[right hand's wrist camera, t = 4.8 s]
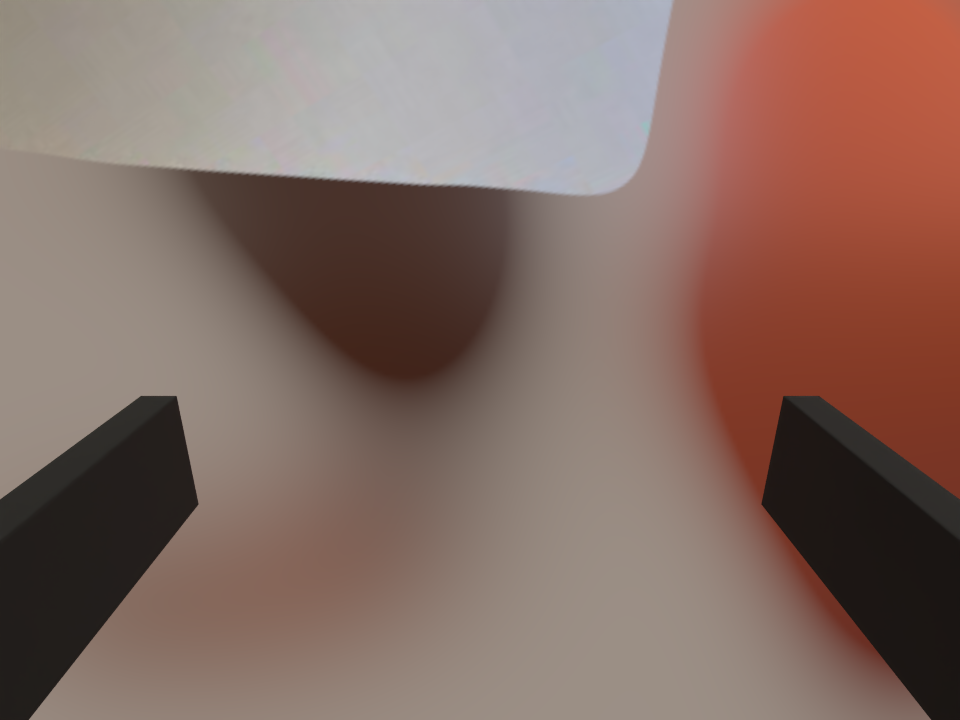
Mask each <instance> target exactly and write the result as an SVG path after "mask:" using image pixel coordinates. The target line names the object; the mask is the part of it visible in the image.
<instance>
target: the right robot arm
mask: <svg viewBox="0 0 960 720" xmlns="http://www.w3.org/2000/svg"><path fill="white" fill-rule="evenodd" d="M197 505H198V499H197V494H196V490H195V485H194V480H193V475H192V470H191V465H190V460H189V455H188V450H187V445H186V440H185V436H184V430H183V426H182V421H181V416H180V411H179V406H178V401H177V397H176V396H141V397H139V398H138V399H136V400H135V401H134V402H132V403H131V404H130V405H128V406H127V407H126V408H124V409H123V410H121V411H120V412H119V413H117V414H116V415H115V416H113V417H112V418H111V419H109V420H108V421H107V422H105V423H104V424H102V425H101V426H100V427H98V428H97V429H96V430H94V431H93V432H92V433H90V434H89V435H87V436H86V437H85V438H83V439H82V440H81V441H79V442H78V443H77V444H75V445H74V446H72V447H71V448H70V449H68V450H67V451H66V452H64V453H63V454H62V455H60V456H59V457H57V458H56V459H55V460H53V461H52V462H51V463H49V464H48V465H47V466H45V467H44V468H43V469H41V470H40V471H38V472H37V473H36V474H34V475H33V476H32V477H30V478H29V479H28V480H26V481H25V482H23V483H22V484H21V485H19V486H18V487H17V488H15V489H14V490H13V491H11V492H10V493H9V494H7V495H6V496H4V497H3V498H2V499H0V720H29V719H30V717H31V716H32V715H33V714H34V712H35V711H36V710H37V708H38V707H39V706H40V705H41V703H42V702H43V701H44V700H45V698H46V697H47V696H48V695H49V693H50V692H51V691H52V689H53V688H54V687H55V686H56V684H57V683H58V682H59V681H60V679H61V678H62V677H63V676H64V674H65V673H66V672H67V670H68V669H69V668H70V667H71V665H72V664H73V663H74V662H75V660H76V659H77V658H78V657H79V655H80V654H81V653H82V651H83V650H84V649H85V648H86V646H87V645H88V644H89V643H90V641H91V640H92V639H93V637H94V636H95V635H96V634H97V632H98V631H99V630H100V629H101V627H102V626H103V625H104V623H105V622H106V621H107V620H108V618H109V617H110V616H111V615H112V613H113V612H114V611H115V610H116V608H117V607H118V606H119V604H120V603H121V602H122V601H123V599H124V598H125V597H126V595H127V594H128V593H129V592H130V591H131V589H132V588H133V587H134V585H135V584H136V583H137V582H138V580H139V579H140V578H141V577H142V575H143V574H144V573H145V571H146V570H147V569H148V568H149V566H150V565H151V564H152V563H153V561H154V560H155V559H156V557H157V556H158V555H159V554H160V552H161V551H162V550H163V549H164V547H165V546H166V545H167V544H168V542H169V541H170V540H171V538H172V537H173V536H174V535H175V533H176V532H177V531H178V530H179V528H180V527H181V526H182V525H183V523H184V522H185V521H186V519H187V518H188V517H189V516H190V514H191V513H192V512H193V511H194V509H195V508H196V507H197ZM762 505H763V507H764V508H765V509H766V511H767V512H768V513H769V514H770V516H771V517H772V518H773V519H774V521H775V522H776V523H777V525H778V526H779V527H780V528H781V530H782V531H783V532H784V533H785V535H786V536H787V537H788V539H789V540H790V541H791V542H792V544H793V545H794V546H795V547H796V549H797V550H798V551H799V552H800V554H801V555H802V556H803V558H804V559H805V560H806V561H807V563H808V564H809V565H810V566H811V568H812V569H813V570H814V571H815V573H816V574H817V575H818V577H819V578H820V579H821V580H822V582H823V583H824V584H825V585H826V587H827V588H828V589H829V591H830V592H831V593H832V594H833V596H834V597H835V598H836V599H837V601H838V602H839V603H840V604H841V606H842V607H843V608H844V610H845V611H846V612H847V613H848V615H849V616H850V617H851V618H852V620H853V621H854V622H855V624H856V625H857V626H858V627H859V629H860V630H861V631H862V632H863V634H864V635H865V636H866V637H867V639H868V640H869V641H870V643H871V644H872V645H873V646H874V648H875V649H876V650H877V651H878V653H879V654H880V655H881V657H882V658H883V659H884V660H885V662H886V663H887V664H888V665H889V667H890V668H891V669H892V670H893V672H894V673H895V674H896V676H897V677H898V678H899V679H900V680H901V682H902V683H903V684H904V686H905V687H906V688H907V689H908V691H909V692H910V693H911V695H912V696H913V697H914V698H915V700H916V701H917V702H918V703H919V705H920V706H921V707H922V709H923V710H924V711H925V712H926V714H927V715H928V716H929V717H930V719H931V720H960V499H958V498H957V497H956V496H954V495H953V494H951V493H950V492H949V491H947V490H946V489H945V488H943V487H942V486H941V485H939V484H938V483H937V482H935V481H934V480H932V479H931V478H930V477H928V476H927V475H926V474H924V473H923V472H922V471H920V470H919V469H917V468H916V467H915V466H913V465H912V464H911V463H909V462H908V461H907V460H905V459H904V458H903V457H901V456H900V455H898V454H897V453H896V452H894V451H893V450H892V449H890V448H889V447H888V446H886V445H885V444H883V443H882V442H881V441H879V440H878V439H877V438H875V437H874V436H873V435H871V434H870V433H868V432H867V431H866V430H864V429H863V428H862V427H860V426H859V425H858V424H856V423H855V422H853V421H852V420H851V419H849V418H848V417H847V416H845V415H844V414H843V413H841V412H840V411H839V410H837V409H836V408H834V407H833V406H832V405H830V404H829V403H828V402H826V401H825V400H824V399H822V398H821V397H819V396H784V397H783V401H782V406H781V411H780V416H779V421H778V426H777V430H776V436H775V440H774V445H773V450H772V455H771V460H770V465H769V470H768V475H767V480H766V485H765V490H764V494H763V499H762Z"/></svg>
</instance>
